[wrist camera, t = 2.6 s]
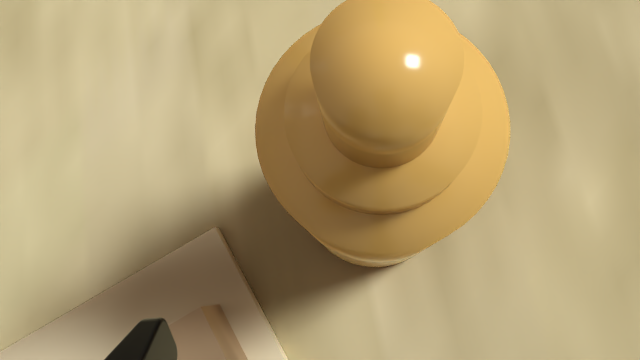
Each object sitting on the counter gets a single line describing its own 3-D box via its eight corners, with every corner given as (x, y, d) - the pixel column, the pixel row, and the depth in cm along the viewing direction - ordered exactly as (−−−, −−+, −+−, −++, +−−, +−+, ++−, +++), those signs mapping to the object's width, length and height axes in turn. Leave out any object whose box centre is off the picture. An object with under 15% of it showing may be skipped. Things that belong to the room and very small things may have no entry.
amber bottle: (473, 220, 20) (649, 115, 8) (348, 294, 20) (319, 310, 8) (397, 103, 22) (442, -156, 9) (278, 171, 22) (152, 9, 9)
